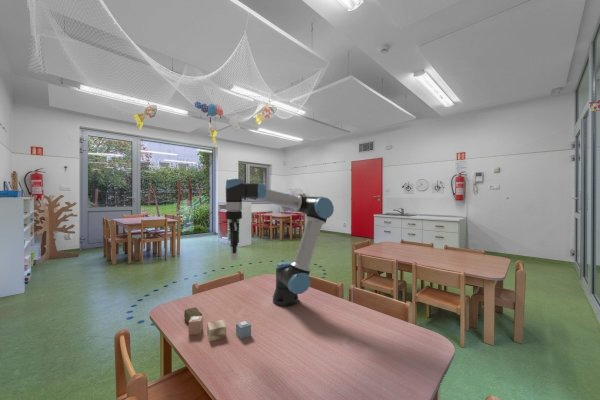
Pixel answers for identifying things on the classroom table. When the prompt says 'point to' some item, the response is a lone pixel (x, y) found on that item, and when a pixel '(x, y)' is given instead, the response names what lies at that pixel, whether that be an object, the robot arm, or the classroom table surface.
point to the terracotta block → (195, 325)
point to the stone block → (191, 313)
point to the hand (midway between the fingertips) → (234, 259)
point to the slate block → (243, 329)
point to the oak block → (216, 330)
